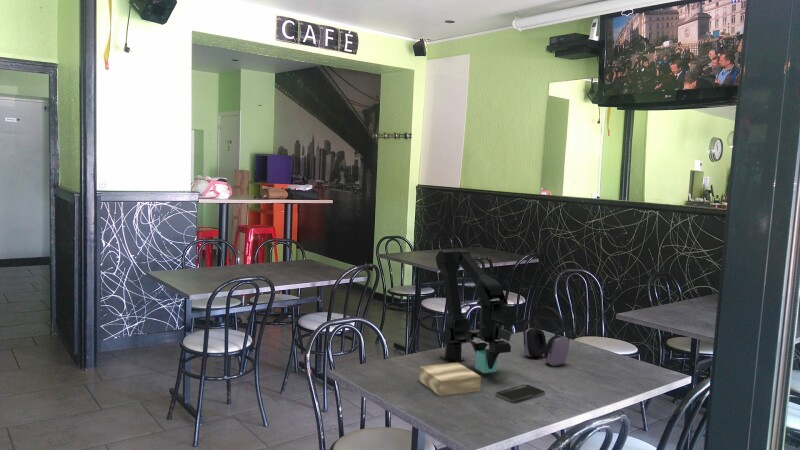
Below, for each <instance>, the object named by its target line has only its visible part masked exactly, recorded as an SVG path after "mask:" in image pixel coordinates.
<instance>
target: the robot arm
mask: <svg viewBox="0 0 800 450" xmlns="http://www.w3.org/2000/svg"><path fill="white" fill-rule="evenodd" d="M435 261H436V263H435V264H436V266H437V270H438V271H439V272H440V273H441V275H442V279H443V286H444V293H445V300H446V301H445V302H446V308H447V309H446V310H447V318H446V320H445V323H444V330H443V332H442V333H441V334H440V335H439V341H440V343H442V344H444V355H440V358H441V359H444V360H445V361H446V362H448V363H457V362H463V361H465V358H463V357H462V350H463V349H462V344H463V343H467V341H470V344H471V346H472V348H473V350H474V352H475V354H476V351H480V350H485V352H486V357H487V362H488V367H489V369H492V368H493V366H494V363H495V361H496V359H497V360H498V356H499V355H500V354H505V353H511V352H512V345H511V344H510V340H511V337H512V335H513V333H512V332H511V331H509V330H506V329H504V328H503V327H505V328H512V327H514V326H515V324H516V322H517V321H518V316H517V313H516V311H515V310H514V309H513V308H514V307H513V305H510V304H509V302H508V298H507V297H506V295H505V292H504V290H503V286H502V285H501V283H500V282H498V281H497V280H496V279H495V278H493V277H491V276H488V274H486V273H485V271H484V269H482V267H480V265H479V264H478V263H477V262H476V261H475V259H474V258H473V256H472V255H471V252H470V251H469V250H466V249H465V250H464V249H463V250H440V251H438V253H437V254H436V256H435ZM460 267H461V268H462V269H463V270H464V272H465V274H467V276H468V277H469V278H470V279H471V281H472V282H473V283H474V286H475V288H474V289H475V292H476V294H477V296H478V297H479V300H477V301H476V304H477V305H479V306H480V314H479V321H476V325H477V327H479V329H471V327H470V320H469V318H468V317H465V316H464V315H463V312H462V311H463V310H462V303H461V295H460V287H459V282H458V272H459V270H460ZM501 339H502V340H501ZM487 347H488V348H487Z"/></svg>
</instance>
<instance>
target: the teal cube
mask: <svg viewBox="0 0 800 450" xmlns="http://www.w3.org/2000/svg"><path fill="white" fill-rule="evenodd" d="M497 362H498V358H497V359H496V361H495V363H494V366H493V368H492V369H489V367H488V362H487V357H486V352H485V350H480V351H476V353H475V370H478V371H479V372H481V373H483V374H488V373H494V372H495V373H496V372H497V368H498V363H497Z"/></svg>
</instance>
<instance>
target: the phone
mask: <svg viewBox="0 0 800 450" xmlns="http://www.w3.org/2000/svg"><path fill="white" fill-rule="evenodd" d="M545 395H546V390H543V389H540V388H538V387H536V386H532V385H530V384H523V385H520V386H515V387H511V388H508V389H503V390H500V391H496V392H495V397H497V398H500V399H502V400H503V399H504V401H506V402H508V403H510V402H511V403H510V404H518V403H521V402H526V401H528V400H532V399H534V398H535V399H536V398H538V397H542V396H545Z"/></svg>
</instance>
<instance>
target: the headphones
mask: <svg viewBox="0 0 800 450" xmlns="http://www.w3.org/2000/svg"><path fill="white" fill-rule="evenodd" d="M541 311H548V312H550V313H551V314H552V315H554V317H555V318H556V319H557V321H558V324H559V325H560V326H561V329H559V330H558V331H556V332H555V334H554V336H552V337H550V338H549V339H548V341H547V339H546V335H545V333H544V331H543V330H542V329H541V325H540V323H539V322H538V320H536V319H534V317H536V316H537V315H538V313H540V312H541ZM529 317H530V318H528V320H527V321H526V322H525V323H524V326H523V351H524V356H526V357H529V358H530V357H531V358H534V357H535V358H537V357H540V356H542V355H543V357H544V358H545V362H546V363H548V364H549V365H551V366H552V367H557V366H560V365H563V364H564V363H565V362H566V361H567V358H568V354H569V349H570V340H571V339H570V338H571V333H570V330H568V329H567V328H566V326H565V322H564V319H563V317H562V316H561V314H560V313H559V312H558V311H557V310H556V309H555V308H553V307H550V306H546V305H545V306H540V307H537V308H536V309H534V310H533V312H531V314H530V316H529ZM531 323H532V324H533V323H534V324H536V325H537V327H530V328H527V327H528V325H529V324H531ZM526 328H527V329H526ZM561 333H566V334H567V337H565V336H562V335H559V334H561Z"/></svg>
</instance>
